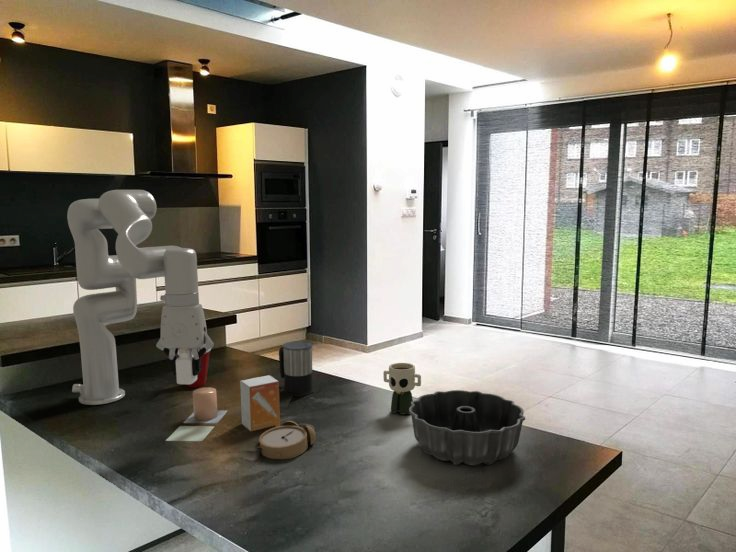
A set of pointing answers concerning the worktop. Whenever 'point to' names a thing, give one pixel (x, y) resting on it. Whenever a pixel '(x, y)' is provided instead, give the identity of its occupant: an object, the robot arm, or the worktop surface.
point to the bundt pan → (466, 426)
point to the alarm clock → (286, 440)
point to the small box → (260, 402)
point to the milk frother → (296, 367)
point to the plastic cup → (204, 368)
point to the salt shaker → (185, 367)
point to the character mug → (401, 385)
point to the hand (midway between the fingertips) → (186, 373)
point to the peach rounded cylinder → (205, 404)
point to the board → (194, 429)
